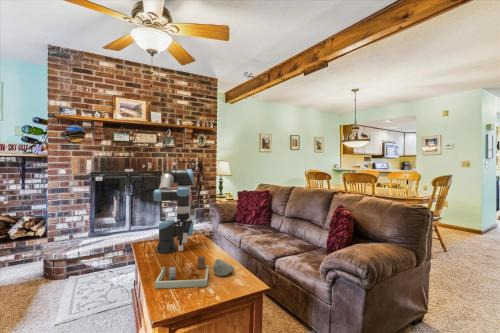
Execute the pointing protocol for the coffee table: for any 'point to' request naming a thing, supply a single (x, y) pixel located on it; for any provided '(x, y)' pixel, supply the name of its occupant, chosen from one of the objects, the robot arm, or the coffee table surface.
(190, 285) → the bay
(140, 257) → the coffee table surface
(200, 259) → the walnut block
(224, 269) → the decorative stone
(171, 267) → the metal cylinder
